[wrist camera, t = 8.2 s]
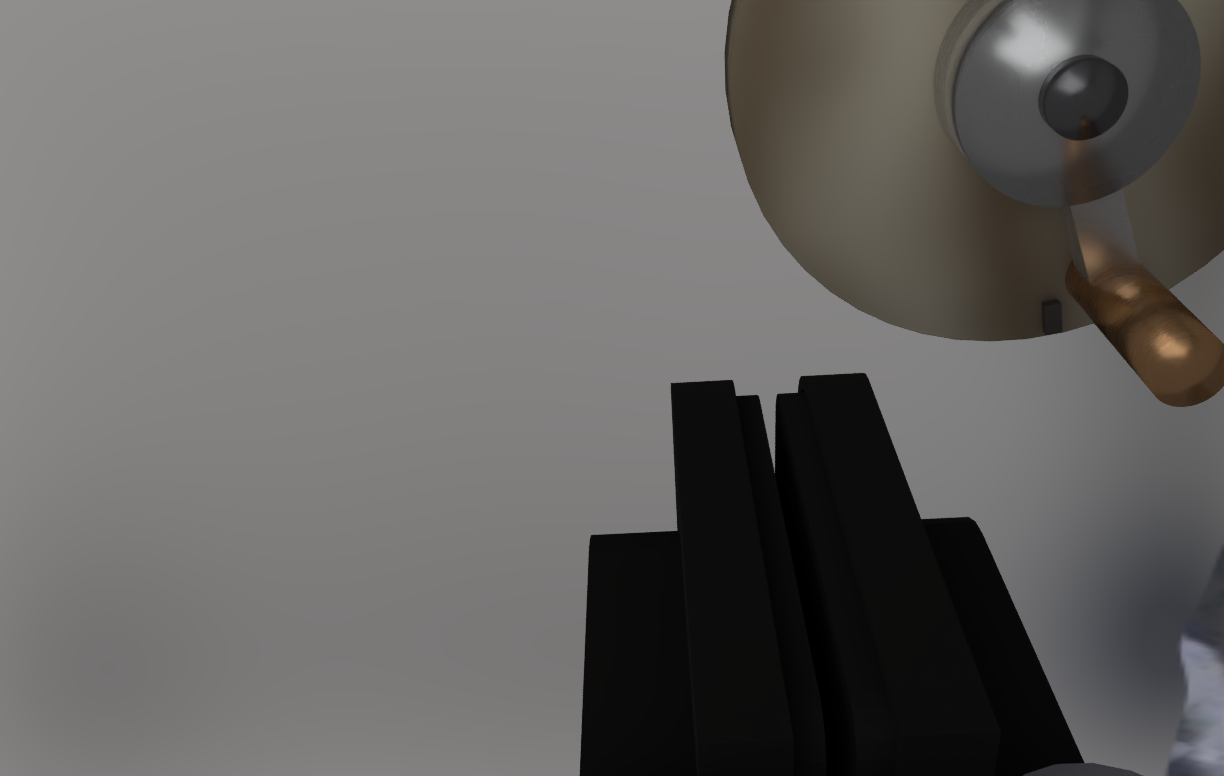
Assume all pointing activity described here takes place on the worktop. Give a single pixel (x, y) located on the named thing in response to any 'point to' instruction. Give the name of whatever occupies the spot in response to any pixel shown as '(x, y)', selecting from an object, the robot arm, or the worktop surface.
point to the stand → (935, 172)
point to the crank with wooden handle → (1086, 152)
